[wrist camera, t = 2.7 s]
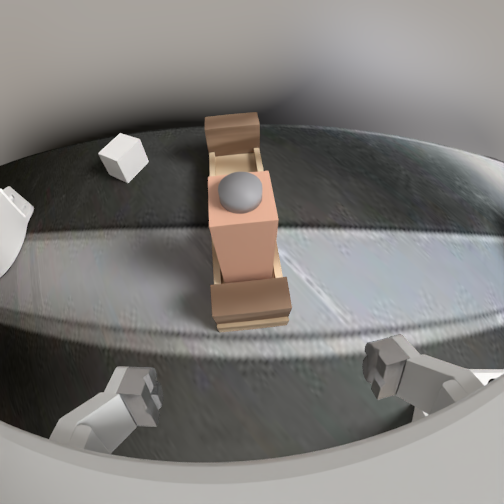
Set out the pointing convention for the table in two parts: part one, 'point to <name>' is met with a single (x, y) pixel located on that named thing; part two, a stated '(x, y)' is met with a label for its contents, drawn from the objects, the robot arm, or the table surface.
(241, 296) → the track
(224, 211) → the pink capped carton
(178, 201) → the table surface
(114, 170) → the white cube
